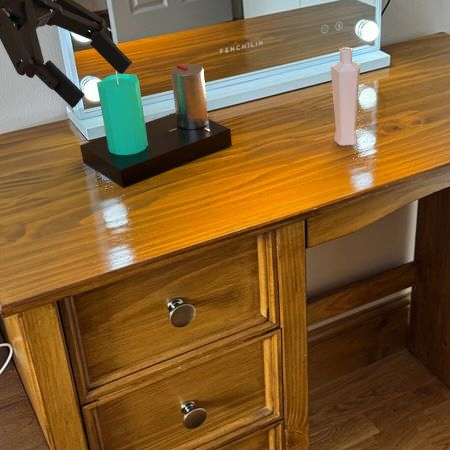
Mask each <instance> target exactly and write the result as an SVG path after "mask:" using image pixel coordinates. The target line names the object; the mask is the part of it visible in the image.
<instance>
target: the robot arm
mask: <svg viewBox="0 0 450 450" xmlns="http://www.w3.org/2000/svg"><path fill="white" fill-rule="evenodd" d="M106 23H107V21H106V20H105V19H104V18H103V17H101V16H99V15H98V14H96V13H94V12H93V11H91V10H90V9H89V8H86V7H85V6H83V5H82V4H80V3H78V2H76V1H75V0H0V42H1V44H2V46H3V48H4V50H5V52H6V54H7V56H8V58H9V60H10V62H11V64H12V66H13V68H14V70H15V71H16V73H17V74H18V75H19V76H26V77H27V78H28V79H33V78H34V77H35V76H36V78H38V80H40V81H41V82H42V83H43V84H44V85H46V87H48V89H50V90H51V91H54V92H55V94H57V95H58V96H59V97H60V98H61V99H62V100H63V101H64V102H65V103H66V104H67V105H68V106H69V107H70V108H71V109H74V108H75V107H76V106H77V105H78V104H79V103H80V101H81V100H83V98H84V97H85V93H84V92H83V91H82V90H81V89H80V88H79V87H78V86H77V85H76V84H75V83H74V82H73V81H72V80H71V79H70V78H69V77H67V75H66V74H65V73H64V72H62V71H61V69H60V68H58V67H57V65H55V63H54V62H52V61H51V60H50V59H49V60H47V61H46V62H45V59H44V56H43V51H42V48H41V44H40V40H39V36H38V32H37V29H38V28H41V27H45V26H49V27H52V26H55V27H58V28H61V29H63V30H66V31H68V32H71V33H73V34H75V35H78V36H80V37H83V38H85V39H88V40H90V41H91V42H90V43H89V45H90V46H91V47H92V48H93V49H94V50H95V51H96V52H97V53H98V54H99V55H100V56H101V57H102V58H103V59H104V61H106V62H107V63H108V64H109V65H110V66H111V67H112V68H113V69H114V70H115V72H116V71H117V74H125V72H126V71H127V70H128V69H129V68H130V67H131V65H132V64H133V61H132V60H131V59H130V58H129V57H128V56H127V55H126V54H125V53H124V52H123V51H122V50H121V49H120V48H119V47H118V46H117V44H116V43H115V42H114V41H113V39H111V38H110V37H109V36H108V35H107V34H106V33H105V32H104V29H105V28H106Z"/></svg>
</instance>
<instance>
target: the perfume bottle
mask: <svg viewBox="0 0 450 450" xmlns="http://www.w3.org/2000/svg"><path fill="white" fill-rule="evenodd" d="M353 50H354V48H352V47H347V46H345V47H341V48H339V49H338V51H339V61H338V62H336V63H335V64H333V65H331V66H330V73H331V74H330V75H331V76H330V77H331V86H332V88H331V89H332V98H333V100H332V101H333V110H334V111H333V112H334V122H335V123H334V124H335V133H334V138H333V141H334V142H335V143H337V144H338V145H339V146H353V145H354V146H355V145H357V142H358V135H357V134H358V133H357V116H358V115H357V114H358V103H359V102H358V101H359V90H360V88H359V87H360V76H361V75H360V74H361V64H360V63H357V62H355V61H353Z"/></svg>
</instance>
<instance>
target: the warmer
mask: <svg viewBox="0 0 450 450" xmlns="http://www.w3.org/2000/svg"><path fill="white" fill-rule="evenodd" d="M214 117H217V114H216V113H215V114H211V115H208V124H207V125H206V126H204V127H202V128H199V129H182V128H180V127H178V125H177V118H176V111H175V112H172V113H169V114H166V115H164V116H161V117H157V118H155V119H152V120H149V121H145V127H146V134H147V140H148V146H147V147H146V149H145V150H143V151H141V152H139V153H136V154H130V155H116V154H113V153H111V152H110V151H109V149H108V144H107V138H106V136H103V137H100V138H97V139H94V140H91V141H89V142H86V143H85V142H84V143H82V144H80V145H79V149H80V153H81V159H82V163H83V164H84V165H85V166H88V167H89V168H90V169H92V170H94V171H95V172H96V173H99V174H100V175H102V176H103V177H105V178H106V179H108V180H109V181H111V182H113V183H114V184H116V185H118V186H119V187H120V188H123V189H126V188H128V187H130V186H133V185H136V184H138V183H141V182H143V181H147V180H148V179H151V178H153V177H156V176H159V175H161V174H164V173H166V172H168V171H171V170H174V169H176V168H179V167H181V166H184V165H187V164H189V163H191V162H194V161H197V160H199V159H202V158H204V157H207V156H209V155H211V154H215V153H217V152H220V151H222V150H224V149H228V148H230V147H232V146H233V144H232V143H233V142H232V141H233V140H232V132H231V131H232V130H231V128H230V127H228V126H225V125H223V124H221V123H220V122H217V121H215V120H212V118H214Z"/></svg>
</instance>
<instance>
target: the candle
mask: <svg viewBox="0 0 450 450" xmlns="http://www.w3.org/2000/svg"><path fill="white" fill-rule="evenodd" d="M96 87H97V92H98V98H99V103H100V109H101V114H102V115H101V116H102V120H103V127H104V132H105V137H106V138H107V144H108V149H109V151H110V152H111V153H113V154H116V155H130V154H136V153H139V152H141V151H143V150H145V149H146V147H147V146H148V140H147V134H146V127H145V123H146V121H145V113H144V107H143V101H142V93H141V87H140V81H139V78H138V75H136V74H131V73H123V74H119V73H118V72H117V71H116V70H115V74H111V75H108V76H106V77H105V78H103V79H102V80H100V81H98V82H97V81H96Z"/></svg>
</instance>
